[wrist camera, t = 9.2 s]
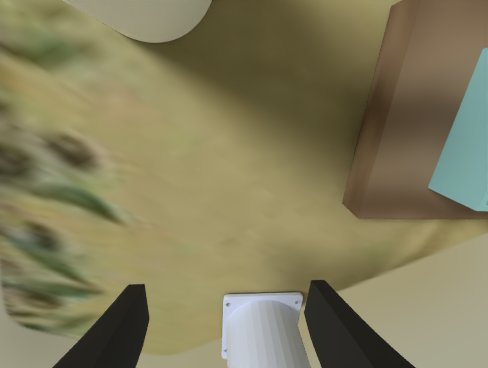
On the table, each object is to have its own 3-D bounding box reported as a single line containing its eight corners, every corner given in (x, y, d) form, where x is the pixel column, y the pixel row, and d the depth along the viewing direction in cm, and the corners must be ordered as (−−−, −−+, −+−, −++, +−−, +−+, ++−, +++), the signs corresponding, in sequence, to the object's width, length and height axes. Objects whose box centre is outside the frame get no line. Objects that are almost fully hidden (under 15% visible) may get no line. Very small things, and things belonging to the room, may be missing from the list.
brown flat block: (475, 205, 21) (529, 229, 17) (342, 203, 20) (369, 229, 16) (565, 25, 16) (671, 4, 12) (391, 6, 14) (450, -24, 11)
